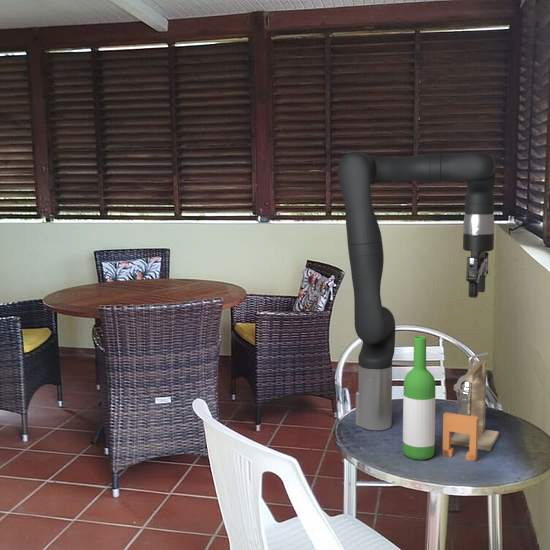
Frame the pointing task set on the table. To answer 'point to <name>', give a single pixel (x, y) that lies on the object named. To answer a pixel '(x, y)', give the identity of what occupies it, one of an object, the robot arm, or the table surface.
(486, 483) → the table surface
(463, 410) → the cup with straw
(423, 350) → the wine bottle
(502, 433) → the table surface
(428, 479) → the table surface
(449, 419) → the c link
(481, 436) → the hook stand
